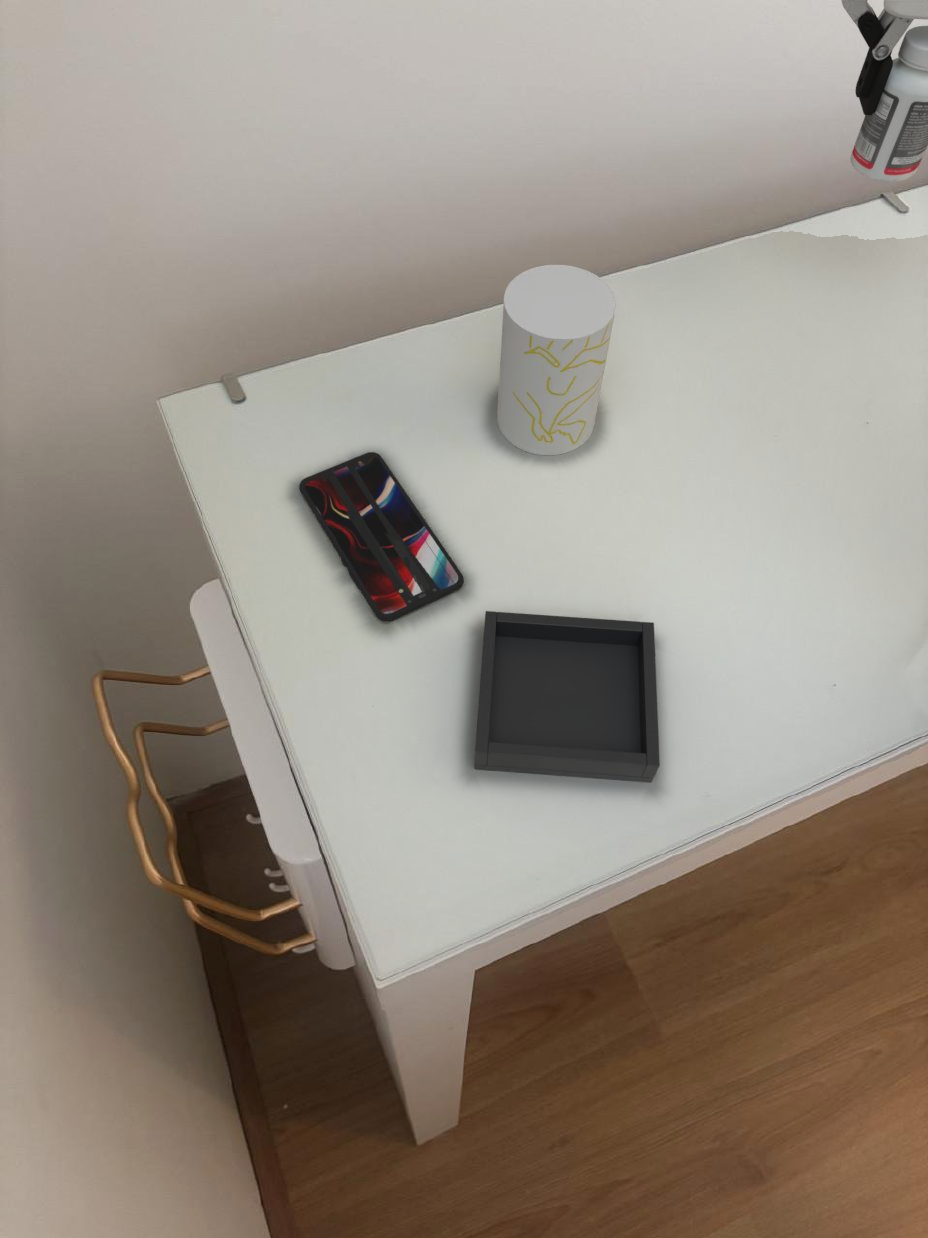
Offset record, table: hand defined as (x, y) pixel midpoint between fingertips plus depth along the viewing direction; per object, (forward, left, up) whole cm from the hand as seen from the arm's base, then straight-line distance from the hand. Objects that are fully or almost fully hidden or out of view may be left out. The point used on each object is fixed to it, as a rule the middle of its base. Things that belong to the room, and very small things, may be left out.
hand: (906, 105), depth 71 cm
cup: (+26, +19, -17) cm, 37 cm away
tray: (+24, +45, -17) cm, 54 cm away
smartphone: (+38, +32, -17) cm, 53 cm away
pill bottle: (0, 0, -5) cm, 5 cm away
